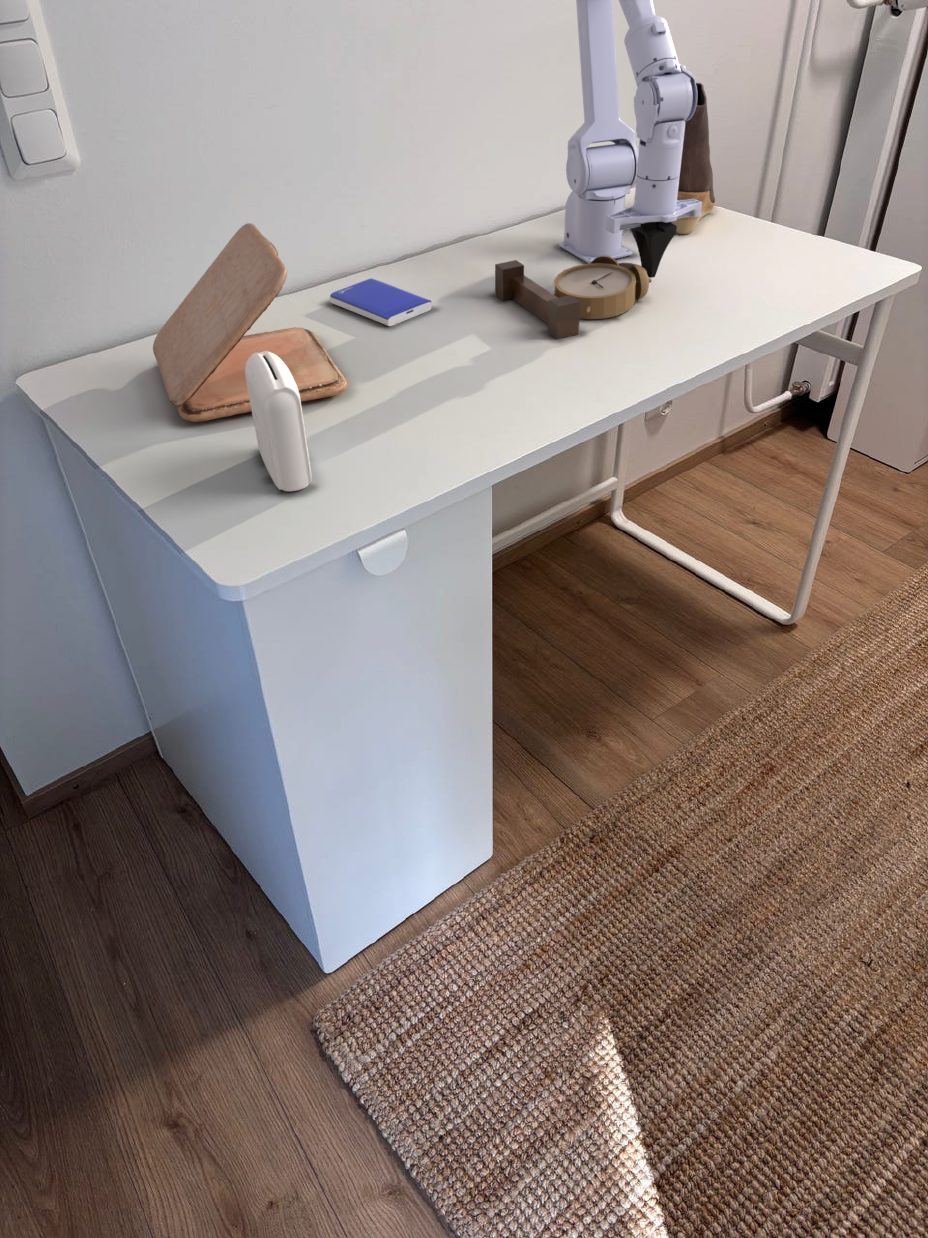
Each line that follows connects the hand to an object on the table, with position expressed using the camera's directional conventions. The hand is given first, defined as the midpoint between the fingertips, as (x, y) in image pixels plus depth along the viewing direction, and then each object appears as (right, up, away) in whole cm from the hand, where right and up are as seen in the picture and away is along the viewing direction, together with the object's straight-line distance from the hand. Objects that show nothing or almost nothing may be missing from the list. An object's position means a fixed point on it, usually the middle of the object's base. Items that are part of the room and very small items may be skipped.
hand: (648, 275), depth 140 cm
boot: (+12, +19, +26) cm, 35 cm away
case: (-53, -19, -18) cm, 59 cm away
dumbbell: (-16, -7, -5) cm, 18 cm away
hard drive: (-38, -5, -1) cm, 39 cm away
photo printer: (-46, -33, -35) cm, 66 cm away
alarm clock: (-7, -4, -2) cm, 8 cm away
